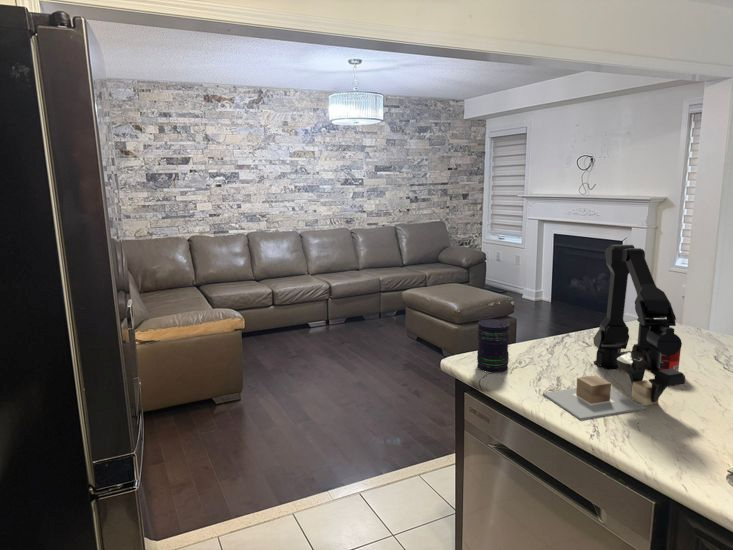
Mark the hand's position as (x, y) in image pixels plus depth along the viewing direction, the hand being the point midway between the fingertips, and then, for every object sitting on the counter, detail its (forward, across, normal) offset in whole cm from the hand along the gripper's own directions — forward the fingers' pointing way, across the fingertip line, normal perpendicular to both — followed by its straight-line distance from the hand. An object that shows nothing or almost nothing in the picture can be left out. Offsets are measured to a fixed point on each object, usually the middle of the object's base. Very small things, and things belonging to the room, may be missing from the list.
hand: (644, 397), depth 137 cm
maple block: (+1, 0, 0) cm, 1 cm away
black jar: (+1, -35, -26) cm, 44 cm away
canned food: (+1, -15, +22) cm, 26 cm away
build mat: (+1, -4, -14) cm, 14 cm away
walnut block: (0, -5, -12) cm, 14 cm away
